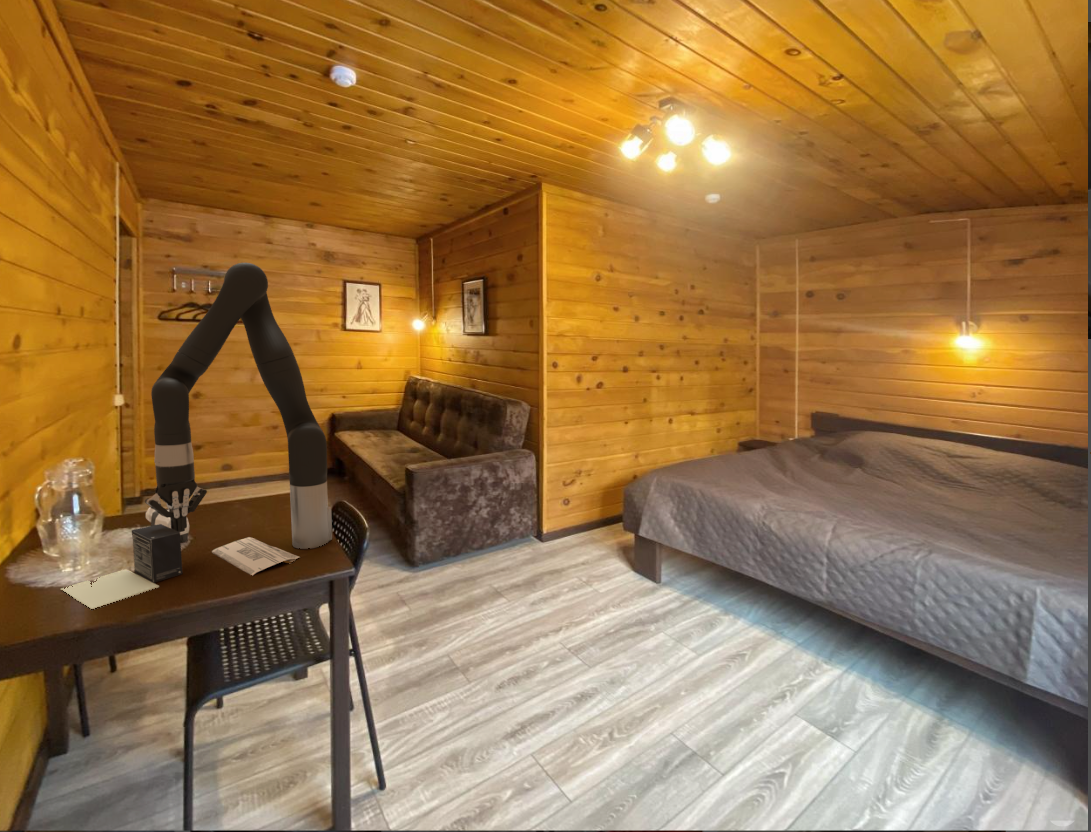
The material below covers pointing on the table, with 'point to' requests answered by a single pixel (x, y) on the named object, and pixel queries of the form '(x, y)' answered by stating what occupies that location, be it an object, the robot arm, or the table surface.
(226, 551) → the newspaper
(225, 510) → the table surface
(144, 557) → the small box
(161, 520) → the giant panda
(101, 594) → the blank cream paper sheet
